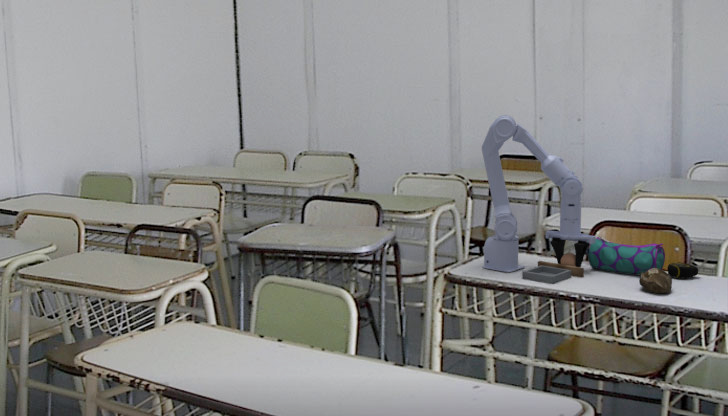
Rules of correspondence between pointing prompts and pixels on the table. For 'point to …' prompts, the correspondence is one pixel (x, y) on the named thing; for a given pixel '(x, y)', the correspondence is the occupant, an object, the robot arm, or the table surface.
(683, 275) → the tape measure
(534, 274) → the tray
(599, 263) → the pencil case
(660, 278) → the brown rock
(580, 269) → the walnut rail
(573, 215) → the robot arm
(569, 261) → the ball
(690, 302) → the table surface
